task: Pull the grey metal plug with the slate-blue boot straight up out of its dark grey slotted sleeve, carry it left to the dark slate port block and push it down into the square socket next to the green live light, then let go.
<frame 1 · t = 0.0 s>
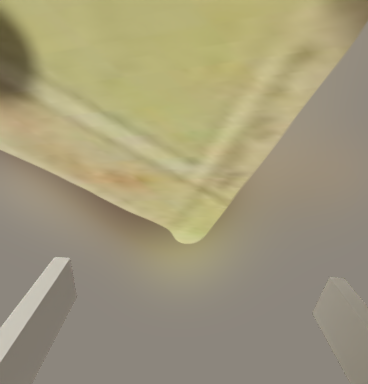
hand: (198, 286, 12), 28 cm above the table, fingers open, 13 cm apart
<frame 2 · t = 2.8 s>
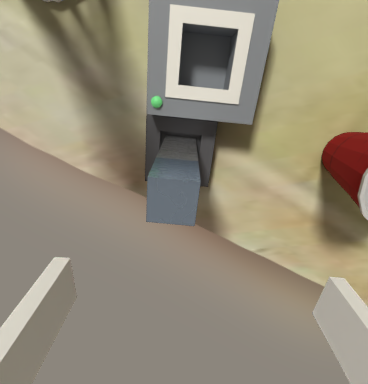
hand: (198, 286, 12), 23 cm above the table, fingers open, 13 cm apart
plug: (179, 151, 31), point 1 cm above the table, touching dark grey slotted sleeve
port: (203, 62, 28), on the table
dark grey slotted sleeve: (179, 149, 32), on the table
plastic cup: (342, 151, 32), on the table
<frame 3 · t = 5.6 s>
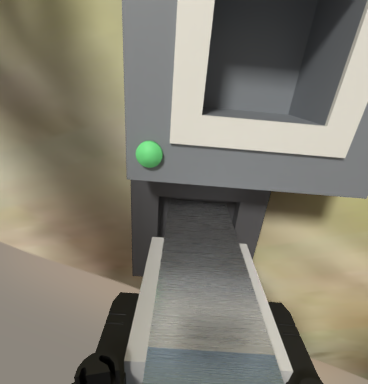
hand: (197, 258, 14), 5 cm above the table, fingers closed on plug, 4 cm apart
plug: (195, 225, 17), point 1 cm above the table, touching gripper, dark grey slotted sleeve
port: (248, 59, 13), on the table
dark grey slotted sleeve: (194, 217, 18), on the table
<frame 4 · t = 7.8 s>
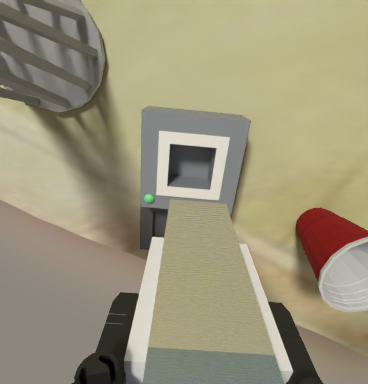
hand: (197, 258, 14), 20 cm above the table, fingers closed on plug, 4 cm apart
plug: (195, 225, 17), point 17 cm above the table, touching gripper
port: (190, 155, 32), on the table
dark grey slotted sleeve: (170, 220, 37), on the table
plastic cup: (314, 221, 37), on the table
vase: (47, 50, 27), on the table
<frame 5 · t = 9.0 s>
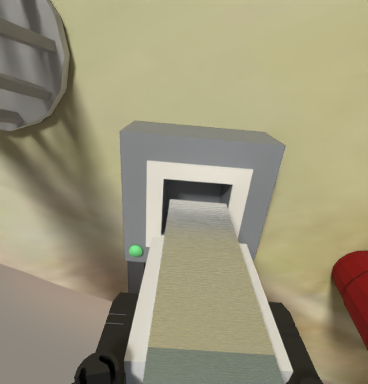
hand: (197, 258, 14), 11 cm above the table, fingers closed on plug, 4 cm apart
plug: (195, 225, 17), point 7 cm above the table, touching gripper
port: (193, 186, 23), on the table
dark grey slotted sleeve: (168, 265, 28), on the table
plastic cup: (356, 265, 28), on the table
when the fingers open (7 cm above the table, at t = 10.1 s): plug drops 2 cm, resting on port.
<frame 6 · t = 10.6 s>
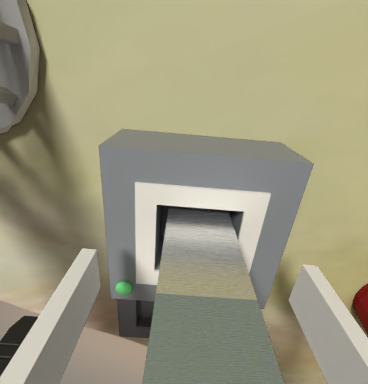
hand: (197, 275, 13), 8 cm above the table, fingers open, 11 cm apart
plug: (194, 211, 19), point 1 cm above the table, touching port
port: (194, 205, 20), on the table
dark grey slotted sleeve: (165, 293, 24), on the table
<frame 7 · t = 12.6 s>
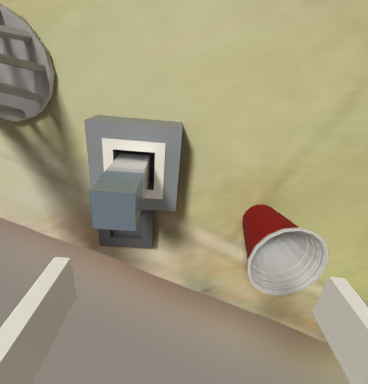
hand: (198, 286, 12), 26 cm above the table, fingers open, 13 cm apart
plug: (138, 161, 34), point 1 cm above the table, touching port
port: (139, 159, 35), on the table
dark grey slotted sleeve: (128, 218, 40), on the table
plastic cup: (259, 216, 40), on the table
vase: (1, 66, 30), on the table
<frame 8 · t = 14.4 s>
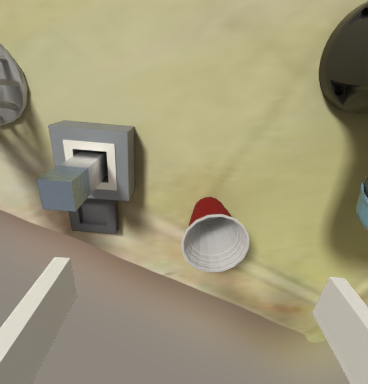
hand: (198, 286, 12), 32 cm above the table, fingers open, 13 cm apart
plug: (99, 158, 41), point 1 cm above the table, touching port
port: (101, 157, 42), on the table
dark grey slotted sleeve: (95, 208, 46), on the table
plastic cup: (208, 208, 46), on the table
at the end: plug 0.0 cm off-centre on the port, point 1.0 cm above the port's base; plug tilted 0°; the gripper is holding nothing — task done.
